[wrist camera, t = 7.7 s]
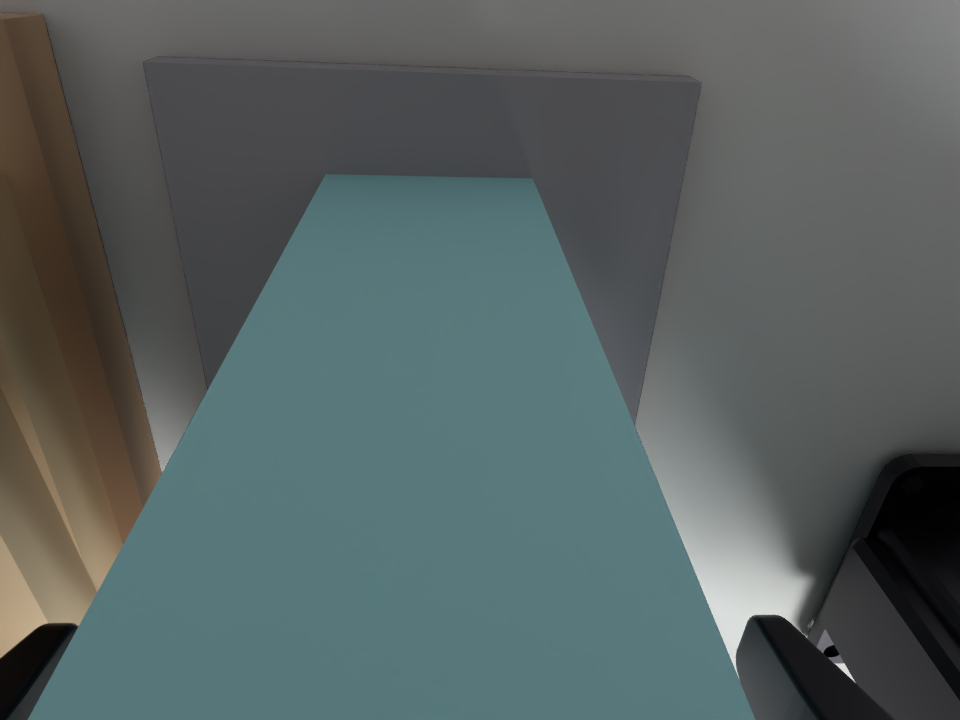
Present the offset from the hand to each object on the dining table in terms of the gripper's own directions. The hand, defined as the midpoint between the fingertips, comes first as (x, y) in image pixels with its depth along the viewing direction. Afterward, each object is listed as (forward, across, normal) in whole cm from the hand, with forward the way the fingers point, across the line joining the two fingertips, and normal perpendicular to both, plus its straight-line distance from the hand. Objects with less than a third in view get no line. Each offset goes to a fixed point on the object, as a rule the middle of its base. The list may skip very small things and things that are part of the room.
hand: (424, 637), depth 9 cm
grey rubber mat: (+5, 0, 0) cm, 5 cm away
